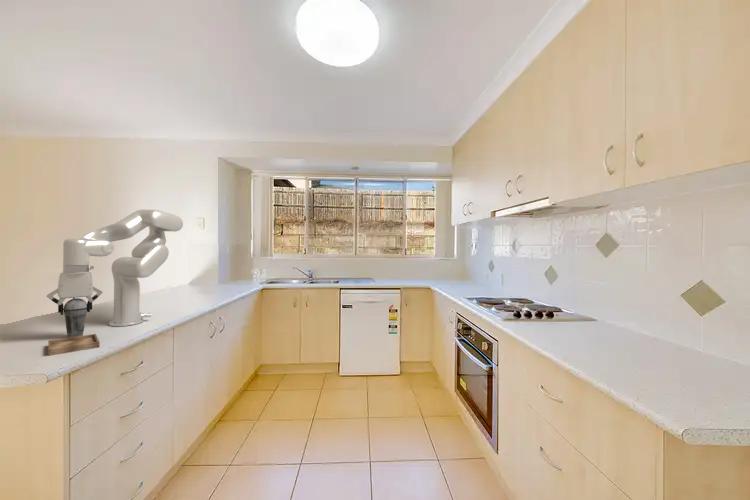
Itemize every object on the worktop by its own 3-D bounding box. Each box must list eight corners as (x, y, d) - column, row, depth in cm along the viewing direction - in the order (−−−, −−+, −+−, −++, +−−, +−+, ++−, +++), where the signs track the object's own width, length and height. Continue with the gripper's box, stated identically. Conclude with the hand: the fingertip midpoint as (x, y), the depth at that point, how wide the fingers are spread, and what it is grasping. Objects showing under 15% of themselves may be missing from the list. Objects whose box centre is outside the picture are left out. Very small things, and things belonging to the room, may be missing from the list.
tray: (95, 338, 123) (95, 333, 123) (99, 347, 114) (99, 341, 114) (48, 345, 113) (48, 340, 113) (48, 355, 104) (48, 349, 104)
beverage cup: (92, 335, 127) (92, 287, 127) (70, 340, 120) (71, 289, 120) (79, 333, 129) (80, 285, 129) (57, 338, 122) (58, 288, 122)
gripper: (103, 267, 133) (102, 308, 133) (44, 269, 120) (44, 314, 121) (105, 269, 128) (105, 311, 128) (44, 271, 115) (43, 318, 115)
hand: (75, 312), depth 124 cm, fingers closed on beverage cup, 7 cm apart
